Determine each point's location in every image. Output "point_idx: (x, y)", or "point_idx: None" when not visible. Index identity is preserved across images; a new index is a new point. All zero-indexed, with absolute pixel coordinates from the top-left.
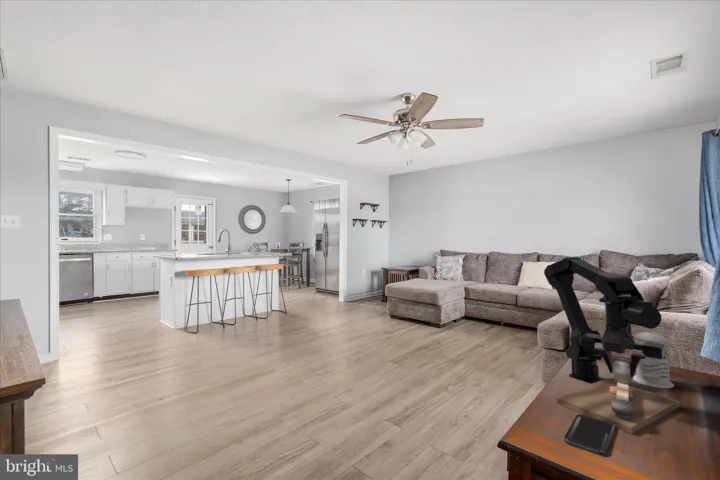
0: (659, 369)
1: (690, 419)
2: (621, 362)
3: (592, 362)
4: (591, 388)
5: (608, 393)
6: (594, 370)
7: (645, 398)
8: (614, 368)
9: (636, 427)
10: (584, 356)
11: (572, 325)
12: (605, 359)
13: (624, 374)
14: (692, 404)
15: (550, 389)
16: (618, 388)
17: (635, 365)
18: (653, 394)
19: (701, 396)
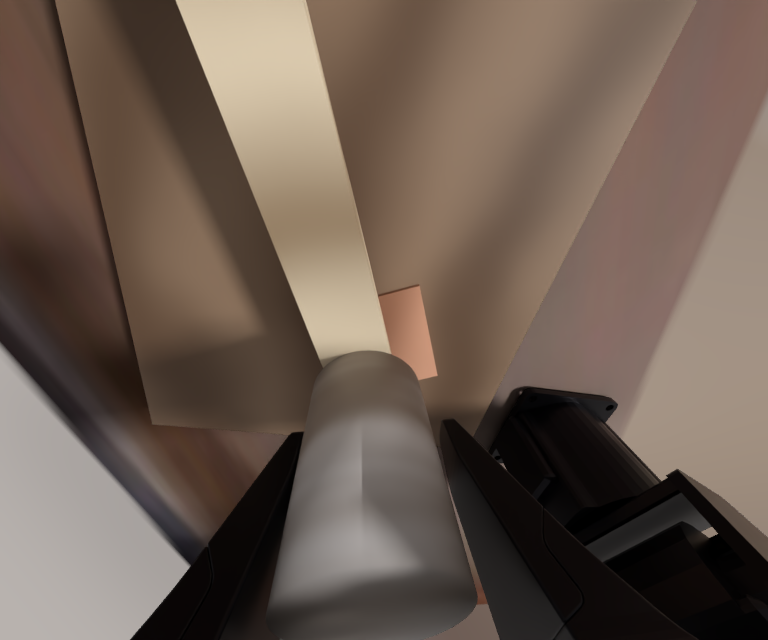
0: None
1: (56, 300)
2: (352, 565)
3: (569, 511)
4: (520, 276)
5: (424, 271)
6: (533, 462)
7: (258, 348)
8: (430, 454)
9: None
10: (667, 534)
11: None
12: (562, 543)
13: (334, 416)
14: (160, 452)
15: (748, 130)
16: (344, 220)
17: (186, 582)
18: (257, 419)
19: (185, 521)
